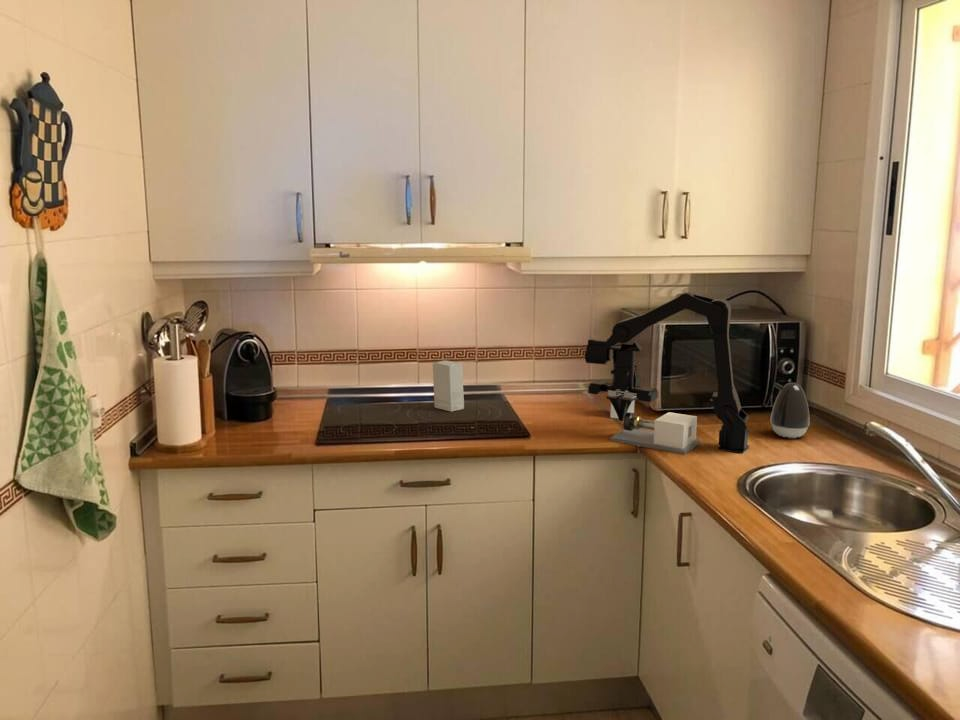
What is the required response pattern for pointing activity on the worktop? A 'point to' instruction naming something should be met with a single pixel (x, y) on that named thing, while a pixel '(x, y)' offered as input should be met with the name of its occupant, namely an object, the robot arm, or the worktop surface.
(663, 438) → the bearing block
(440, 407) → the skincare box
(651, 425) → the metal shaft
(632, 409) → the medicine bottle
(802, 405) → the dark grey egg shape
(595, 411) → the worktop surface
